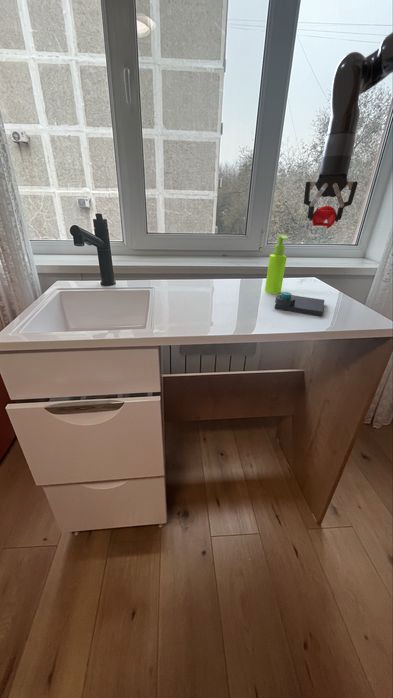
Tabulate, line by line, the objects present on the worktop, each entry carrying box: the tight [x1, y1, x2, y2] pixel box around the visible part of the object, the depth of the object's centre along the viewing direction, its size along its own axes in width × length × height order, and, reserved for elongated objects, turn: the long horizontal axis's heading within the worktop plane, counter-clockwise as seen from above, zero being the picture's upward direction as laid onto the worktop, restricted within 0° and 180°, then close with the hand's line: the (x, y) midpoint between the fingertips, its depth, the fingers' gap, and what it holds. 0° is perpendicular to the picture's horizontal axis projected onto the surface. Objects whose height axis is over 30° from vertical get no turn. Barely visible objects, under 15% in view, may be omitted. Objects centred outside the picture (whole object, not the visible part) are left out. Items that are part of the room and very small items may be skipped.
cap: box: [311, 205, 337, 229], centre depth 86 cm, size 8×6×6 cm
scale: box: [274, 294, 326, 318], centre depth 92 cm, size 14×12×4 cm
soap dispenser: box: [264, 234, 289, 295], centre depth 102 cm, size 6×7×20 cm
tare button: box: [280, 291, 292, 300], centre depth 90 cm, size 3×3×2 cm
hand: (323, 221), depth 87 cm, fingers closed on cap, 7 cm apart
